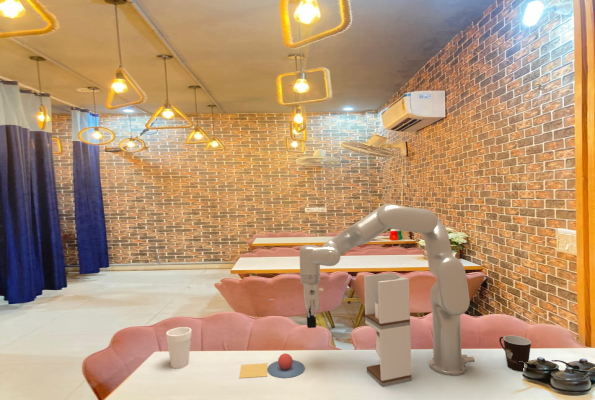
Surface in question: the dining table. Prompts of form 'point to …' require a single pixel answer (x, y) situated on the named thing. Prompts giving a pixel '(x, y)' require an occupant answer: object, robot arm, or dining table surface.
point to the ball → (285, 361)
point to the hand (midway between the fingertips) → (311, 327)
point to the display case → (389, 326)
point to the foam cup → (179, 346)
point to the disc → (293, 371)
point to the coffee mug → (516, 351)
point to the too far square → (253, 370)
